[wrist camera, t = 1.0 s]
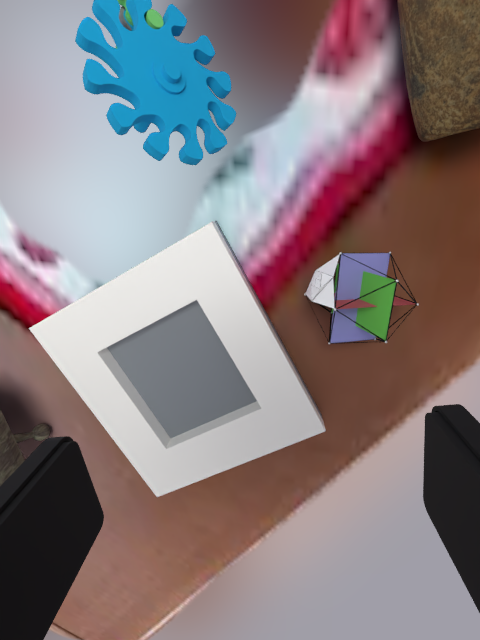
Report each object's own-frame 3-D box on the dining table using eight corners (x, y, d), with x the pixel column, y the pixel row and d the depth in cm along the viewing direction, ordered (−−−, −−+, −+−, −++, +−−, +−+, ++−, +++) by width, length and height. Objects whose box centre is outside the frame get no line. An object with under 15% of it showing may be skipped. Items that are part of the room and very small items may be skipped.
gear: (259, 150, 23) (124, 161, 18) (215, 185, 28) (98, 202, 22) (205, -21, 22) (38, -70, 16) (169, 47, 26) (30, 28, 21)
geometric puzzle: (436, 253, 24) (402, 263, 18) (417, 341, 26) (382, 375, 20) (343, 244, 28) (292, 250, 23) (333, 320, 31) (284, 343, 25)
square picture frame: (216, 220, 26) (211, 222, 24) (321, 414, 31) (325, 431, 29) (47, 319, 30) (28, 328, 28) (164, 477, 35) (157, 497, 33)
